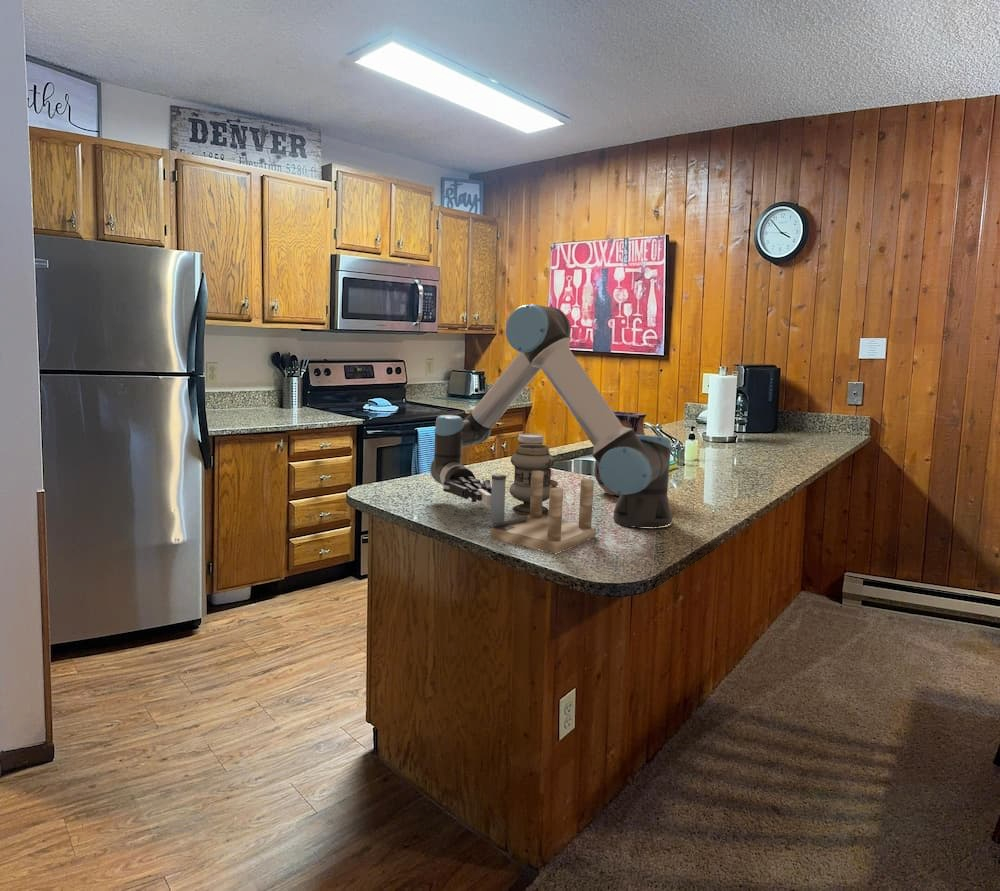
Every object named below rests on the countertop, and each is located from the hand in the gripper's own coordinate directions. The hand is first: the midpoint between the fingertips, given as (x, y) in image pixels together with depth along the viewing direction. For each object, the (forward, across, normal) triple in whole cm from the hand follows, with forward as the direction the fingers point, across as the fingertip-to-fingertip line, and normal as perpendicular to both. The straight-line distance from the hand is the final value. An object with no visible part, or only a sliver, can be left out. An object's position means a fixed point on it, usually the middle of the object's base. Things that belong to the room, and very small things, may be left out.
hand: (489, 500), depth 167 cm
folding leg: (0, -5, -6) cm, 8 cm away
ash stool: (+5, -12, -8) cm, 16 cm away
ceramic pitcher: (-34, -56, -9) cm, 66 cm away
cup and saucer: (-47, -35, -9) cm, 59 cm away
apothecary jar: (-19, -20, -9) cm, 29 cm away
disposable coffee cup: (-77, -45, -9) cm, 89 cm away
